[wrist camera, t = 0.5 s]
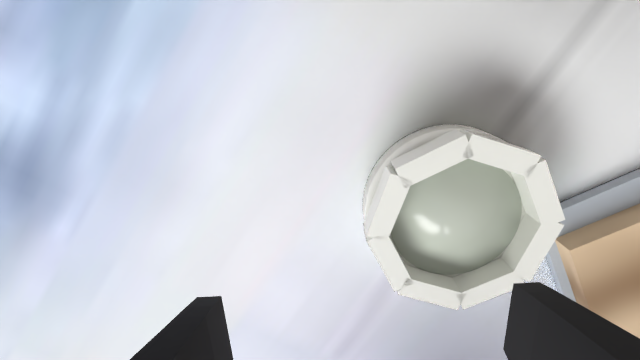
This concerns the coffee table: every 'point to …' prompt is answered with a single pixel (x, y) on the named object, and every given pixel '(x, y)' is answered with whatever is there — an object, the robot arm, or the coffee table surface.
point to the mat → (592, 217)
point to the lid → (606, 267)
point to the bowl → (459, 215)
